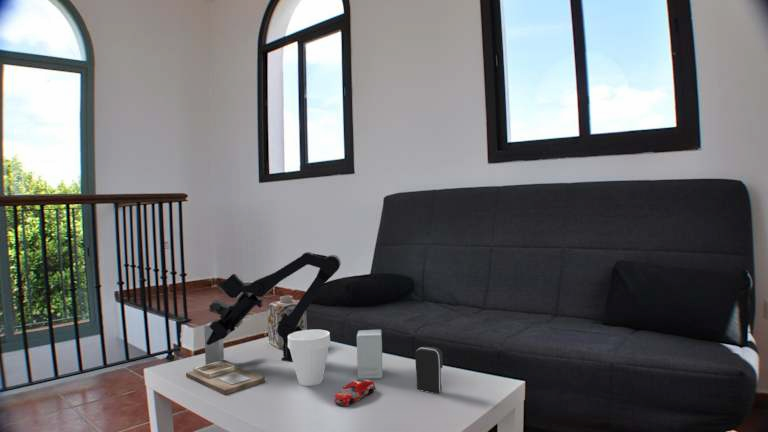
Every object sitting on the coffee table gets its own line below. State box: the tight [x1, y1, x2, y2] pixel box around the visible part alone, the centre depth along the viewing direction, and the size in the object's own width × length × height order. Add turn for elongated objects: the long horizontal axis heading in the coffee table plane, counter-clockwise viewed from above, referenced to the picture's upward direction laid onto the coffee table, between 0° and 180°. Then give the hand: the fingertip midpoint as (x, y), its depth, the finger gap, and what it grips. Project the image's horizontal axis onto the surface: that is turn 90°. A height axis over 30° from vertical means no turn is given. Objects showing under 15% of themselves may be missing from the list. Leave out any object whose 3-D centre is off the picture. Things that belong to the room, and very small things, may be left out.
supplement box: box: [356, 329, 384, 380], centre depth 138 cm, size 7×7×13 cm
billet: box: [203, 321, 225, 365], centre depth 156 cm, size 5×5×13 cm
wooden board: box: [185, 360, 266, 395], centre depth 139 cm, size 13×24×2 cm, turn 47°
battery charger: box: [415, 346, 444, 394], centre depth 124 cm, size 7×4×11 cm, turn 56°
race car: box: [333, 378, 376, 406], centre depth 121 cm, size 13×5×4 cm, turn 142°
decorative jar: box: [267, 295, 308, 350], centre depth 177 cm, size 12×12×18 cm
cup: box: [288, 329, 331, 387], centre depth 134 cm, size 12×12×14 cm
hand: (210, 342), depth 156 cm, fingers closed on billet, 5 cm apart
